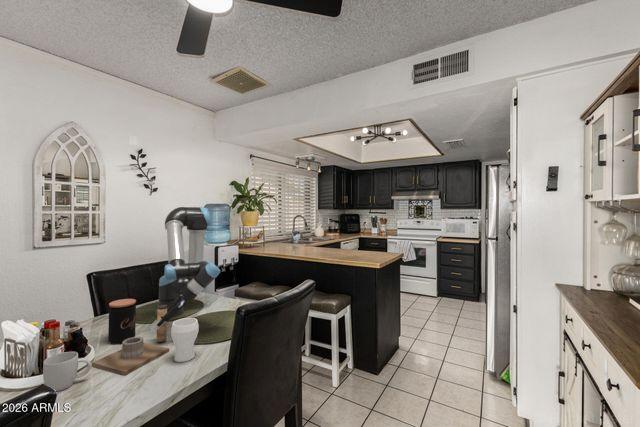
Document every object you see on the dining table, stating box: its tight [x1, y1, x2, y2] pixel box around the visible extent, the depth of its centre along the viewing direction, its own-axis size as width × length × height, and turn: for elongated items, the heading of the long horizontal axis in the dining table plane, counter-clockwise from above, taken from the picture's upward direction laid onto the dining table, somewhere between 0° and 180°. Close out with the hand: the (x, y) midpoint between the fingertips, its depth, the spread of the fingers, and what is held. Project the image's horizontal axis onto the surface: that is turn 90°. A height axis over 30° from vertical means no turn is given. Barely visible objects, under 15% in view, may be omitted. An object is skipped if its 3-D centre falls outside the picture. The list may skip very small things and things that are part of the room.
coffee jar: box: [107, 298, 137, 345], centre depth 136 cm, size 11×11×18 cm
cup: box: [170, 317, 200, 363], centre depth 121 cm, size 11×11×15 cm
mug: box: [42, 351, 92, 392], centre depth 100 cm, size 13×9×10 cm
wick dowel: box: [156, 305, 168, 343], centre depth 135 cm, size 4×4×16 cm
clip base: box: [91, 336, 170, 376], centre depth 119 cm, size 20×18×8 cm
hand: (152, 328), depth 133 cm, fingers closed on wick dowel, 4 cm apart
